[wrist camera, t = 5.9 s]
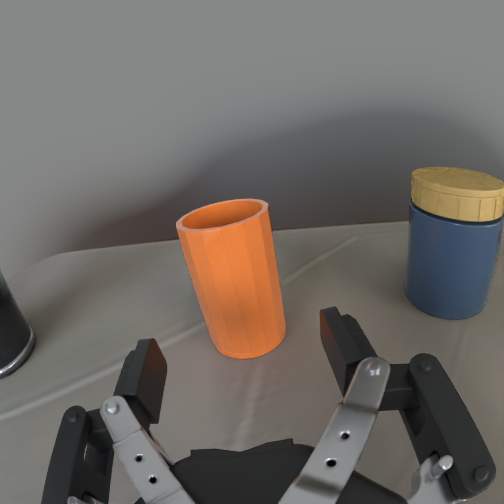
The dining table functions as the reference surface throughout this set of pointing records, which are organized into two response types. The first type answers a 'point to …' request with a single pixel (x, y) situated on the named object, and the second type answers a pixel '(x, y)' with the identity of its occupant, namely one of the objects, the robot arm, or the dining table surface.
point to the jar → (450, 263)
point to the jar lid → (458, 193)
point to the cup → (235, 275)
